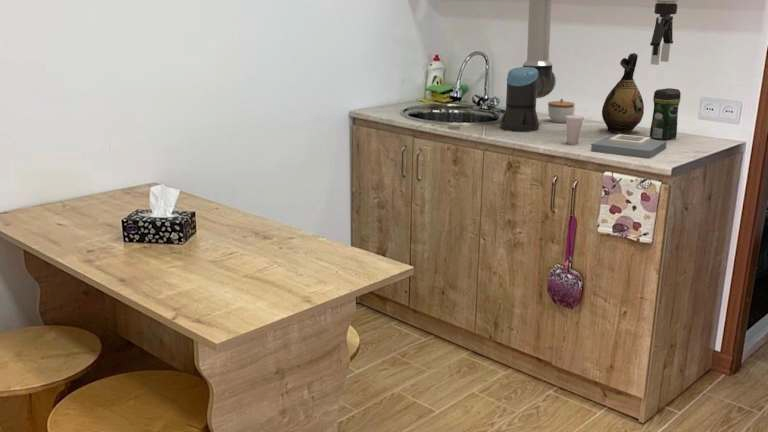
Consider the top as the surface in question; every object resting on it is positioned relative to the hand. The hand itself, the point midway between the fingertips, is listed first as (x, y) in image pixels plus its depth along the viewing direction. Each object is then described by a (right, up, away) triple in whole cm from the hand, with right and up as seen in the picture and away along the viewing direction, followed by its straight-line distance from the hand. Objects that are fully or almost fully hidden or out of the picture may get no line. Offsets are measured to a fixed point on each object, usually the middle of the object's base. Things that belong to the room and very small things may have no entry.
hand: (659, 63), depth 281 cm
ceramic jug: (-8, -23, +20) cm, 31 cm away
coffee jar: (+3, -27, +7) cm, 28 cm away
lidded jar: (-27, -17, +40) cm, 51 cm away
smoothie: (-33, -30, -4) cm, 44 cm away
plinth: (-16, -33, -13) cm, 39 cm away
